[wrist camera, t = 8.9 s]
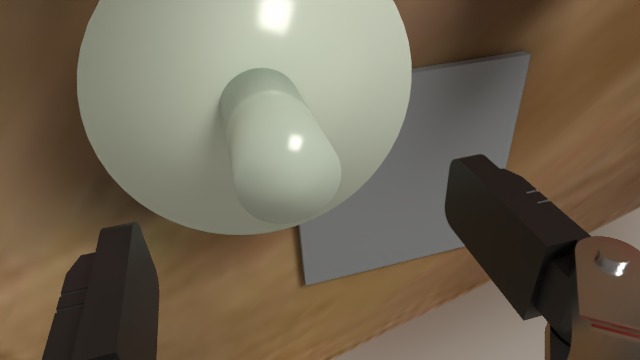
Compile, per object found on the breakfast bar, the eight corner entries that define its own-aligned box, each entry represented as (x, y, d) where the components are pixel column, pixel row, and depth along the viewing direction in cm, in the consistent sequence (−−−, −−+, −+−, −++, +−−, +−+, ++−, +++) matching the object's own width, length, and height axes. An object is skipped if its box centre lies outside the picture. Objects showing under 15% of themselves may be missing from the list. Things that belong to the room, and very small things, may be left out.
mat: (524, 50, 25) (531, 54, 25) (484, 235, 33) (489, 240, 33) (283, 88, 23) (286, 93, 22) (303, 279, 31) (305, 285, 30)
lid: (409, -100, 15) (523, -89, 10) (395, 190, 22) (458, 278, 17) (17, -65, 13) (-78, -31, 8) (139, 246, 19) (129, 366, 15)
